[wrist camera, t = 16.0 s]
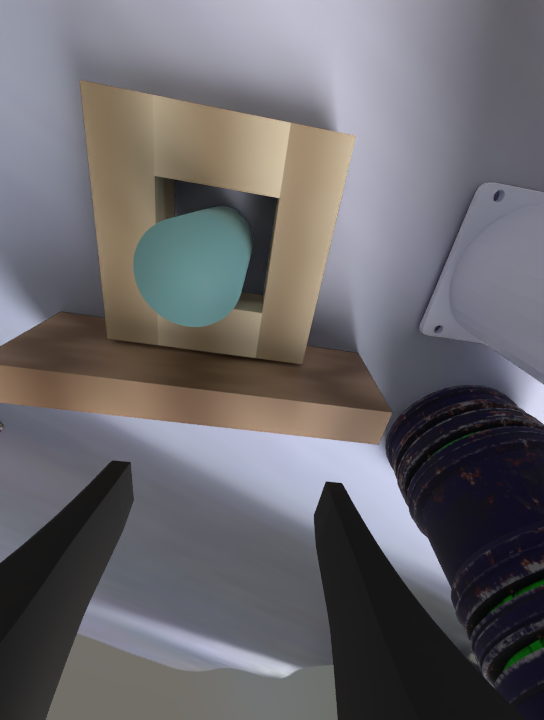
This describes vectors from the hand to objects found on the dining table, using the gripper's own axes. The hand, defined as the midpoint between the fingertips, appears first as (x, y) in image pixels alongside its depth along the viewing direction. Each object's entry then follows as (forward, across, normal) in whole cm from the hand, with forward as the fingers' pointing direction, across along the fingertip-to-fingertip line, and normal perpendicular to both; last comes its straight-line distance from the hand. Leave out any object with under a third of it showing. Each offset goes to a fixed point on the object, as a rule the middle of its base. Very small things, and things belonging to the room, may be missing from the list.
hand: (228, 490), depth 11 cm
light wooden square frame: (+9, +2, -7) cm, 12 cm away
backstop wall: (+9, +2, -1) cm, 10 cm away
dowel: (+9, +2, -7) cm, 12 cm away
